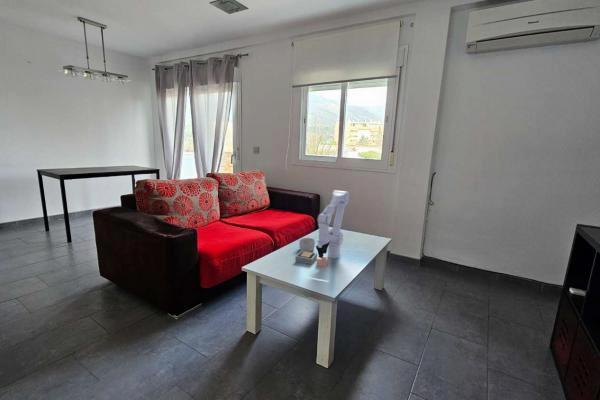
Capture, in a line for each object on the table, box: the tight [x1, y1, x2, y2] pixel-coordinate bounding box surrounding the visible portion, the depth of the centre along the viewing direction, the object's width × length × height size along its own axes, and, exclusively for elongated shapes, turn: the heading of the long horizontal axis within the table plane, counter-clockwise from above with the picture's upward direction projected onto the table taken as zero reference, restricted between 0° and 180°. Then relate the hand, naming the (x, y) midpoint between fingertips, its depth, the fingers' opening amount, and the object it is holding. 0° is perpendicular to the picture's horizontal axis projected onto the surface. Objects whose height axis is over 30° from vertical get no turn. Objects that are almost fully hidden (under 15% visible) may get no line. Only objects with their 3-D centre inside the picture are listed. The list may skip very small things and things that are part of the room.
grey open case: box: [298, 236, 316, 252], centre depth 195 cm, size 14×11×8 cm
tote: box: [294, 250, 318, 266], centre depth 175 cm, size 11×11×4 cm
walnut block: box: [300, 252, 314, 259], centre depth 175 cm, size 6×6×4 cm
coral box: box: [316, 256, 329, 268], centre depth 170 cm, size 4×6×5 cm
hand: (322, 255), depth 169 cm, fingers open, 7 cm apart
